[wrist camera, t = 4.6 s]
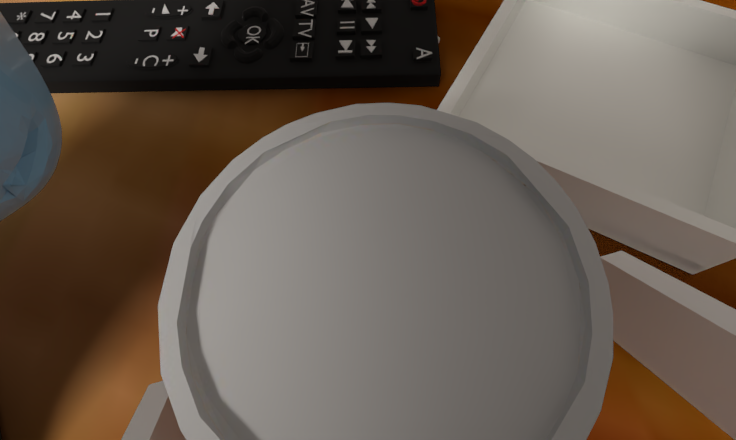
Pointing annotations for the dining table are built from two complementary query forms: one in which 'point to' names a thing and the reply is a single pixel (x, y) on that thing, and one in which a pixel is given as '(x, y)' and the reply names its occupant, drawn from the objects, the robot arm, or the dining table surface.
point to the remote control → (228, 44)
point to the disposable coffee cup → (385, 289)
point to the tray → (619, 114)
